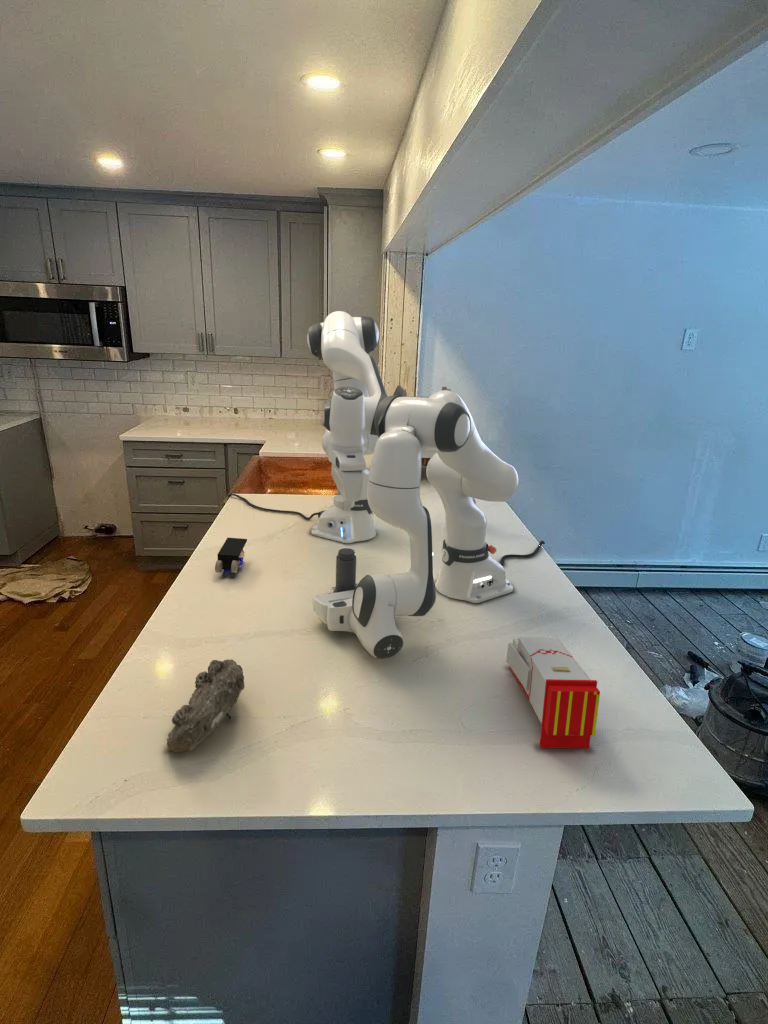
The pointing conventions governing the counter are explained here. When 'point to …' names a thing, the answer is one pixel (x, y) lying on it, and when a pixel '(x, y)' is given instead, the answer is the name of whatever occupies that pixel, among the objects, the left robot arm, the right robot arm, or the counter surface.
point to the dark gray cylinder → (345, 570)
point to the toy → (555, 691)
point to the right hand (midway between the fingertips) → (344, 587)
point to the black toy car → (230, 556)
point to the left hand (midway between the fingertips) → (343, 505)
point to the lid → (340, 501)
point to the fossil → (206, 705)
